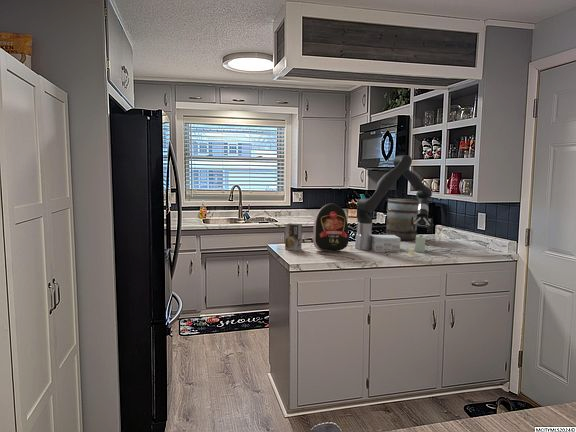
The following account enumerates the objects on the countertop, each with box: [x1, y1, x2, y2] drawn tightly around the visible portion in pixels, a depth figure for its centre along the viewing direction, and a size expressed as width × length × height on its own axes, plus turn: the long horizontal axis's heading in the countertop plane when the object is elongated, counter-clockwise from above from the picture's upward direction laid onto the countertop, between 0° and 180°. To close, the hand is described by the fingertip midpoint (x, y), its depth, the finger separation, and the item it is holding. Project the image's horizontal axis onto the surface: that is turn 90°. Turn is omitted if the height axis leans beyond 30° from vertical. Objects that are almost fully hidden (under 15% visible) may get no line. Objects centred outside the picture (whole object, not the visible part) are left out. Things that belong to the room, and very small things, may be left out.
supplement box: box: [370, 234, 401, 253], centre depth 280 cm, size 17×13×9 cm
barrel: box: [385, 198, 418, 242], centre depth 327 cm, size 22×22×30 cm
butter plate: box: [396, 247, 426, 259], centre depth 265 cm, size 12×12×4 cm
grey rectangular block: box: [414, 234, 427, 254], centre depth 277 cm, size 9×6×10 cm, turn 162°
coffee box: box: [284, 222, 303, 251], centre depth 270 cm, size 9×6×16 cm
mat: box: [406, 248, 432, 254], centre depth 278 cm, size 12×12×1 cm
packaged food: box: [312, 203, 350, 252], centre depth 268 cm, size 22×20×30 cm
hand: (421, 230), depth 284 cm, fingers open, 8 cm apart
